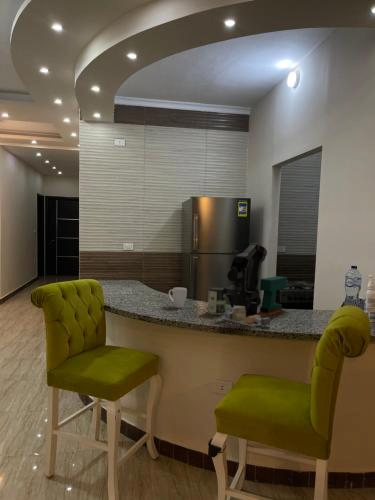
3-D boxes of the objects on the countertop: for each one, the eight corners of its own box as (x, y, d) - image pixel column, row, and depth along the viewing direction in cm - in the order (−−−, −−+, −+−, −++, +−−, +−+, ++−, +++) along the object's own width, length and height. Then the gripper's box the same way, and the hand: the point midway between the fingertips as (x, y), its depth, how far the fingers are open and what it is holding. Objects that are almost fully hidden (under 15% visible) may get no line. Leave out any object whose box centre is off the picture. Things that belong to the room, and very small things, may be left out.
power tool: (281, 305, 237) (283, 275, 236) (291, 307, 232) (293, 276, 231) (257, 313, 212) (259, 279, 211) (268, 315, 208) (270, 280, 207)
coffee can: (226, 311, 214) (227, 287, 213) (224, 315, 204) (225, 290, 203) (208, 310, 216) (209, 286, 215) (206, 313, 206) (207, 289, 205)
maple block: (232, 318, 193) (232, 307, 192) (239, 316, 197) (239, 305, 197) (238, 320, 190) (239, 308, 190) (245, 318, 194) (245, 307, 194)
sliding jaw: (255, 319, 191) (255, 313, 191) (272, 323, 184) (272, 317, 184) (245, 322, 185) (245, 316, 185) (262, 326, 178) (262, 320, 178)
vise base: (234, 316, 202) (234, 310, 202) (265, 323, 188) (265, 317, 187) (222, 319, 195) (222, 312, 195) (253, 327, 181) (253, 320, 180)
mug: (188, 307, 222) (189, 288, 222) (181, 309, 215) (181, 289, 215) (172, 304, 229) (172, 286, 228) (164, 306, 222) (165, 287, 221)
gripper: (216, 278, 193) (215, 307, 194) (245, 282, 180) (244, 314, 181) (230, 277, 201) (229, 305, 202) (258, 281, 188) (257, 311, 188)
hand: (239, 308), depth 193 cm, fingers open, 9 cm apart
